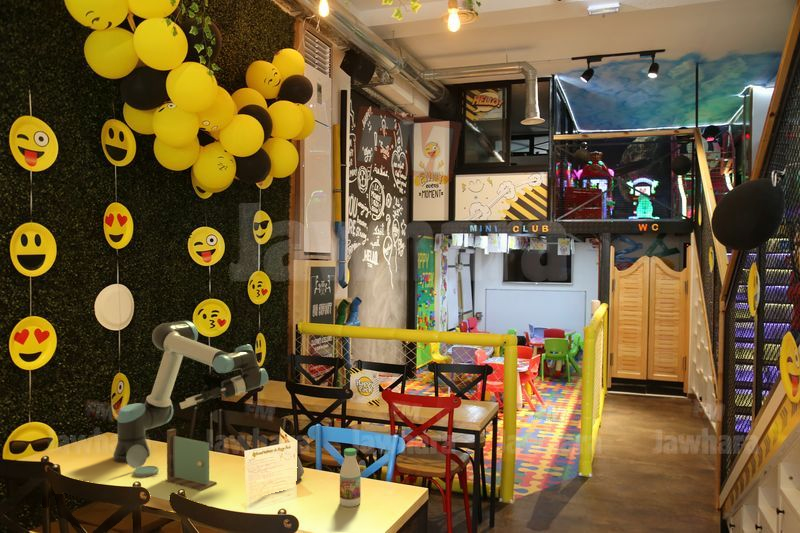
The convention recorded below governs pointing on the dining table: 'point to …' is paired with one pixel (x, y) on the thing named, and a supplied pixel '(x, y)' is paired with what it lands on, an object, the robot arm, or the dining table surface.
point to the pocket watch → (140, 462)
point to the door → (191, 459)
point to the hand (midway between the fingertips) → (183, 404)
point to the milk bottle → (350, 480)
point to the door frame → (170, 477)
